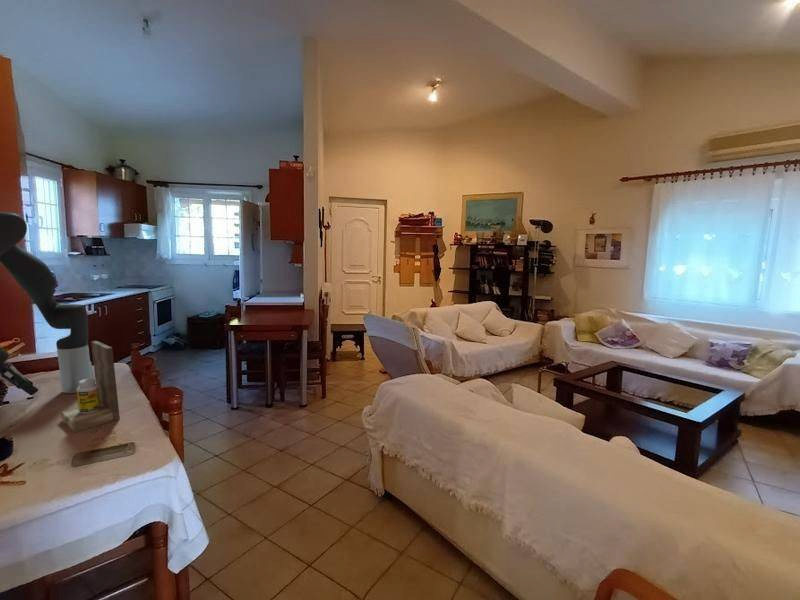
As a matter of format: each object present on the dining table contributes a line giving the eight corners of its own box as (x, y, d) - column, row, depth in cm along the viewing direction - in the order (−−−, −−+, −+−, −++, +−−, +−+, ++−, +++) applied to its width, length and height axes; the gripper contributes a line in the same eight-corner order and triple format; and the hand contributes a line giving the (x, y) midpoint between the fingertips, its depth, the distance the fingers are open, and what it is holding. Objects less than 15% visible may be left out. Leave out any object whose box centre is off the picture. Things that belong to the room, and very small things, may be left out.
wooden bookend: (61, 420, 129) (52, 348, 125) (104, 408, 138) (96, 340, 134) (75, 433, 120) (66, 356, 117) (119, 419, 129) (112, 347, 126)
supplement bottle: (77, 416, 125) (74, 384, 123) (80, 409, 129) (76, 379, 128) (99, 412, 128) (96, 381, 126) (101, 405, 132) (98, 376, 131)
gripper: (1, 348, 107) (51, 385, 117) (-12, 337, 115) (36, 372, 125) (-30, 370, 102) (24, 406, 113) (-41, 356, 110) (10, 391, 120)
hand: (30, 388), depth 119 cm, fingers open, 8 cm apart
